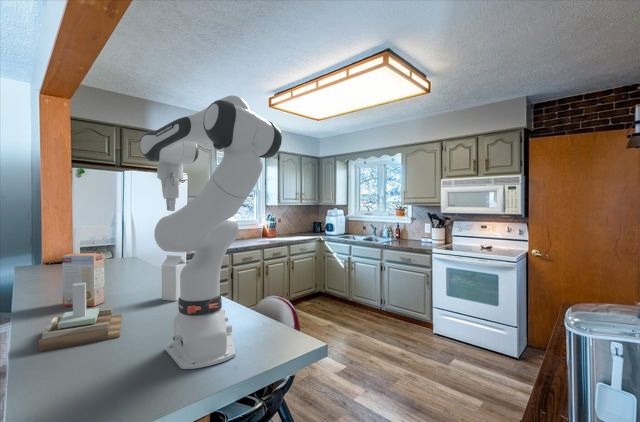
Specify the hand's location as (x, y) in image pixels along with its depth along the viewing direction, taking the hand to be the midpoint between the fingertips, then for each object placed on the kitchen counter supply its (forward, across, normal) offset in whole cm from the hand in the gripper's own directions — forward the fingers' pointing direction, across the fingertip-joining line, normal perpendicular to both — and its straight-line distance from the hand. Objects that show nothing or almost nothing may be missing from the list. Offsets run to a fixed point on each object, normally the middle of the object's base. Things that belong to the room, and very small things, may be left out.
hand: (170, 210), depth 116 cm
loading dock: (+39, -6, +25) cm, 47 cm away
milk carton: (+39, +20, -3) cm, 44 cm away
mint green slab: (+36, -6, +27) cm, 45 cm away
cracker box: (+39, +30, +30) cm, 58 cm away
